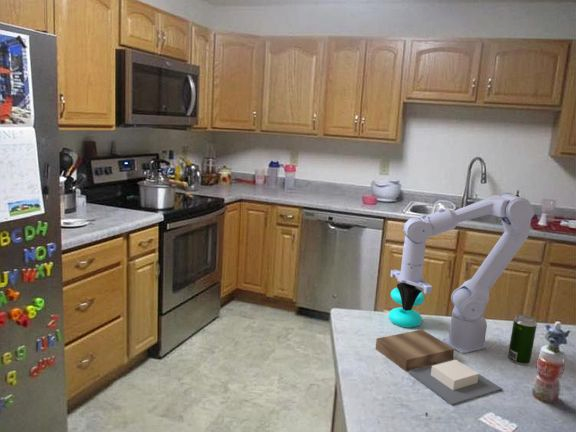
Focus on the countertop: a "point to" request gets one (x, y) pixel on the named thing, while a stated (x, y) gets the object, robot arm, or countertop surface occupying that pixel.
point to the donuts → (402, 316)
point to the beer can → (522, 339)
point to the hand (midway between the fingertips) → (407, 309)
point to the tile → (454, 374)
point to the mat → (459, 394)
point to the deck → (414, 349)
